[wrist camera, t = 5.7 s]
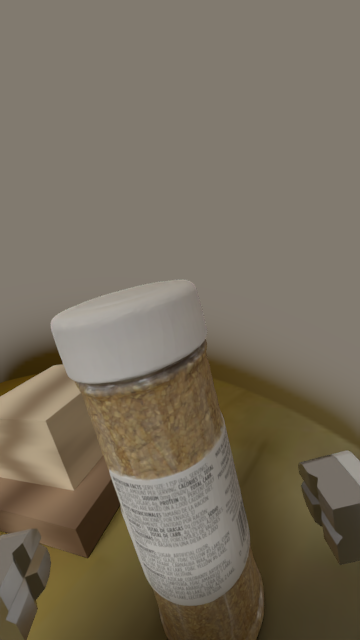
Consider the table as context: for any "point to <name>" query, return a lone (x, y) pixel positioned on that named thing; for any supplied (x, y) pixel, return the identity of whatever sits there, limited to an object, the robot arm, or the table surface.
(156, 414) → the spice jar
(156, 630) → the table surface
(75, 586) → the table surface
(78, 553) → the block stand
